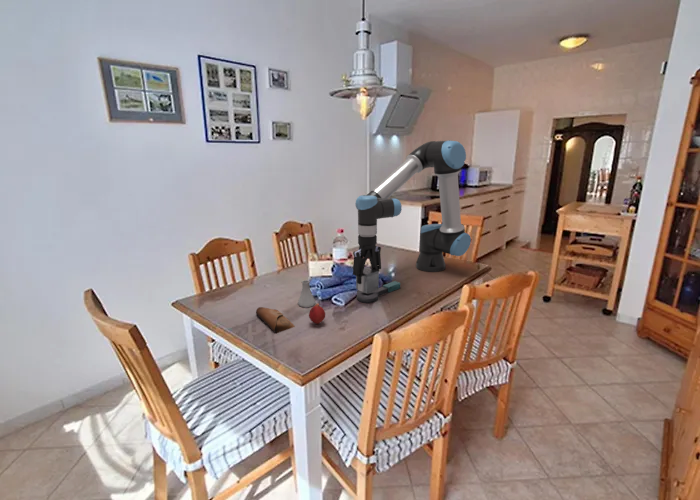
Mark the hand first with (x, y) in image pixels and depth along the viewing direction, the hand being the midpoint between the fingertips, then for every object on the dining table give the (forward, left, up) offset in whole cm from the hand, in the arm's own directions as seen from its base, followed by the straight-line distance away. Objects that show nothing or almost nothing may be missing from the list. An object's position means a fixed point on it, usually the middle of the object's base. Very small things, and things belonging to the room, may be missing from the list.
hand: (367, 288), depth 150 cm
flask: (+22, -13, -5) cm, 26 cm away
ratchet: (-7, 0, -5) cm, 9 cm away
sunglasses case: (+39, -9, -5) cm, 40 cm away
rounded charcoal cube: (0, 0, 0) cm, 0 cm away
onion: (+29, +4, -5) cm, 30 cm away
